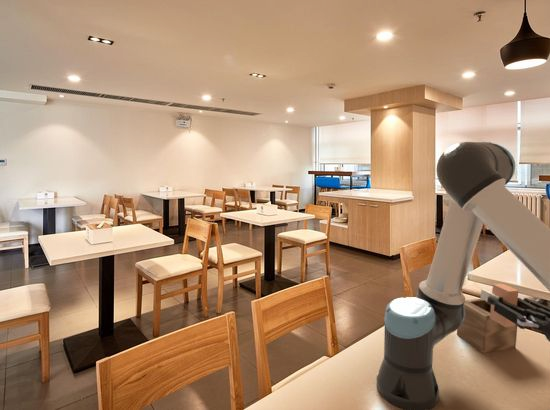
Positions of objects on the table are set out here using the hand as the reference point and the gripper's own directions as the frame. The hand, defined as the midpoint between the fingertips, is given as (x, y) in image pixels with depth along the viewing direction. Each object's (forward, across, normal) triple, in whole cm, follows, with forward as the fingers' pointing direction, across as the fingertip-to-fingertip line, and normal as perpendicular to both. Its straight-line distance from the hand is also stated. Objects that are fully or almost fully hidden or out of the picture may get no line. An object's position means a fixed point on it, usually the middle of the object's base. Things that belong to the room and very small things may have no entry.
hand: (487, 293), depth 95 cm
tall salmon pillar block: (-5, 0, -6) cm, 8 cm away
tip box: (+8, +9, -21) cm, 24 cm away
